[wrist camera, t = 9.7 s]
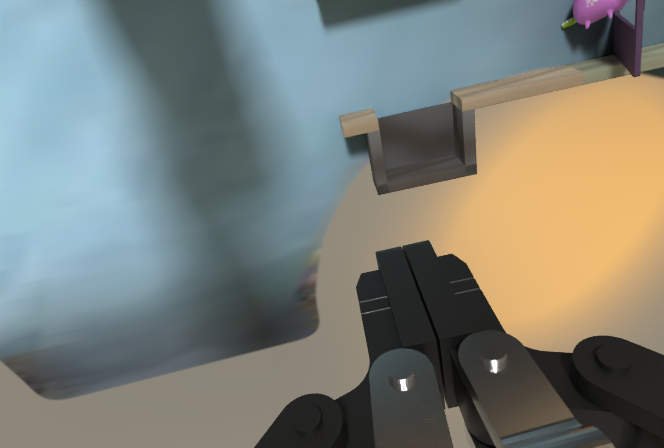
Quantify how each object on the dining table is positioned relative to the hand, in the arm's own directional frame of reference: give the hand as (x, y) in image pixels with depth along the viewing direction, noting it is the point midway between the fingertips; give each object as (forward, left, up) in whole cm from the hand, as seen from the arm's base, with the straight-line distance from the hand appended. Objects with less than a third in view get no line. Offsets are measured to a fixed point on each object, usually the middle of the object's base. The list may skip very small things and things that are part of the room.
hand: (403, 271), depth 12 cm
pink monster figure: (0, +22, -29) cm, 36 cm away
